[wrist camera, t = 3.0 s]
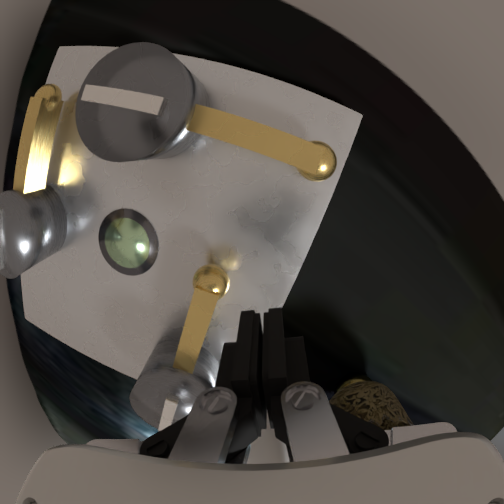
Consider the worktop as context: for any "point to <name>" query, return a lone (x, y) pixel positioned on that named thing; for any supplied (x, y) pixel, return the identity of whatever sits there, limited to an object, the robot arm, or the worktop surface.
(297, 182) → the plate
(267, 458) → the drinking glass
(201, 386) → the knob
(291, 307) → the worktop surface
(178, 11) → the worktop surface
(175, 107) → the knob
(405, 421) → the cup
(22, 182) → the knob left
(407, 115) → the worktop surface
